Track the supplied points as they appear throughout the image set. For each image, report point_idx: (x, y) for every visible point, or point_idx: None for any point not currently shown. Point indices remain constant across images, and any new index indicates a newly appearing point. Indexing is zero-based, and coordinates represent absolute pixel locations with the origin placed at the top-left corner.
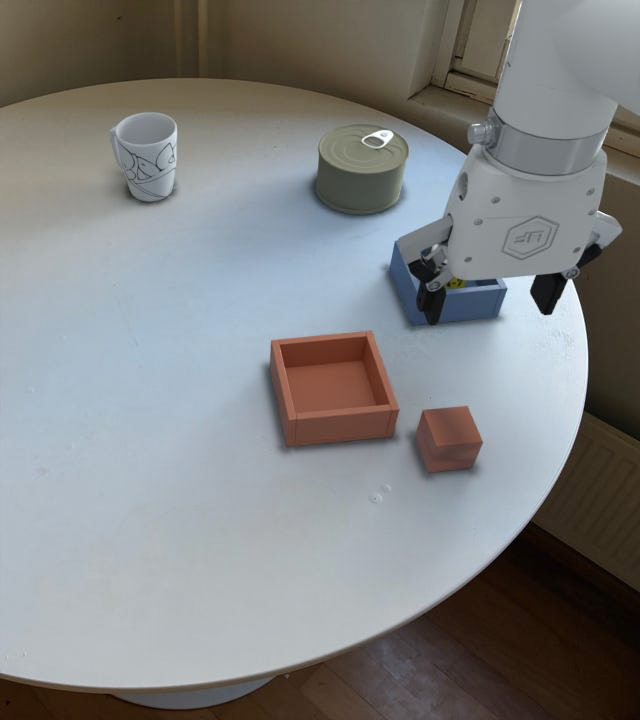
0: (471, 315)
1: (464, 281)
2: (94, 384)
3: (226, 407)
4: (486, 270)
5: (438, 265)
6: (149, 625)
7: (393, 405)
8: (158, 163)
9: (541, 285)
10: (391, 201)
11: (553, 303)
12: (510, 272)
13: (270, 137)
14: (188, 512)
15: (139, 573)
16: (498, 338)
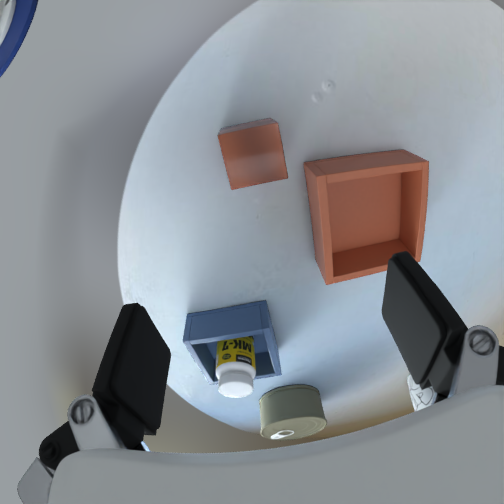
0: (211, 314)
1: (220, 345)
2: (499, 216)
3: (439, 195)
4: (450, 463)
5: (435, 398)
6: (476, 17)
7: (322, 182)
8: (430, 390)
9: (150, 372)
10: (268, 396)
11: (118, 330)
12: (320, 483)
13: (336, 416)
14: (468, 92)
15: (487, 53)
16: (185, 292)
